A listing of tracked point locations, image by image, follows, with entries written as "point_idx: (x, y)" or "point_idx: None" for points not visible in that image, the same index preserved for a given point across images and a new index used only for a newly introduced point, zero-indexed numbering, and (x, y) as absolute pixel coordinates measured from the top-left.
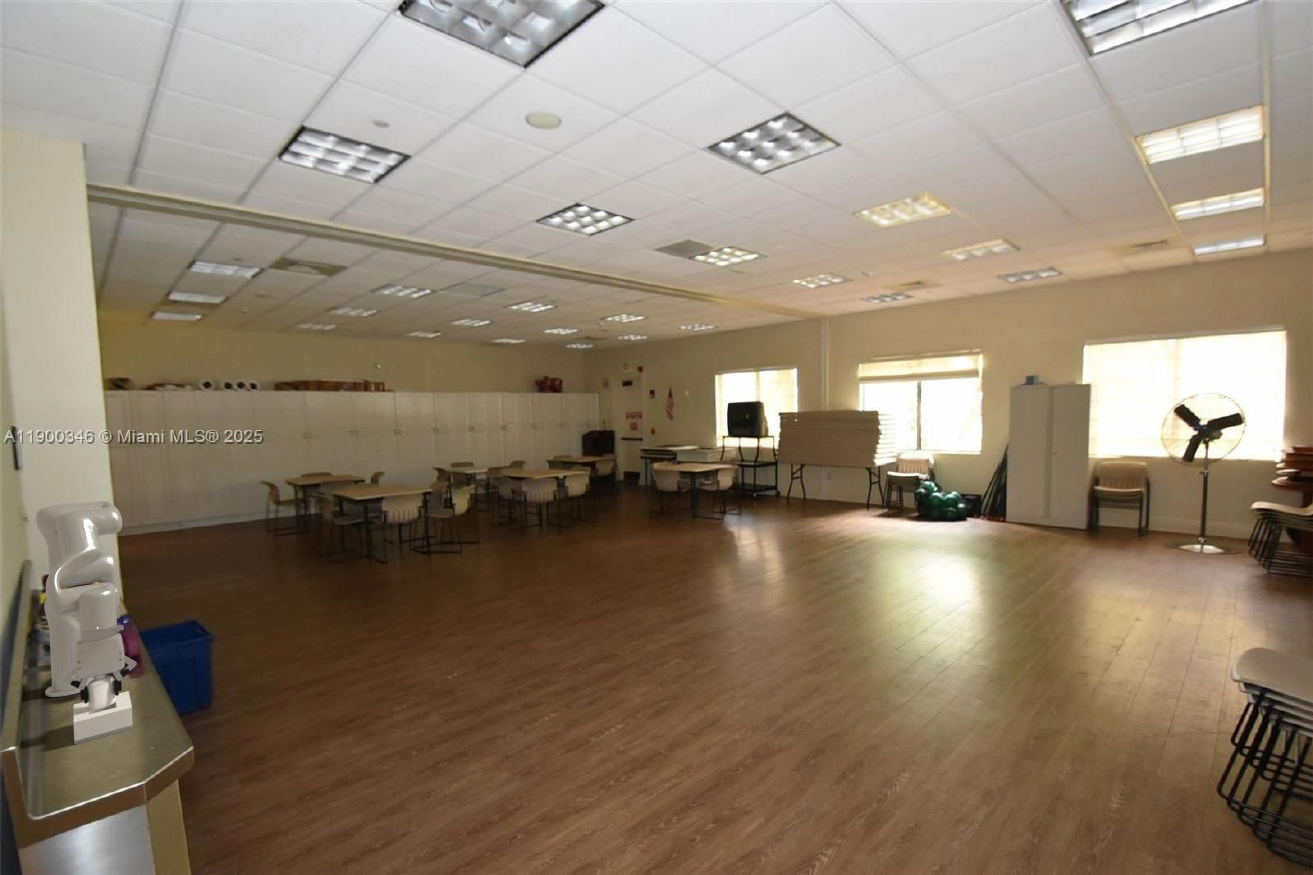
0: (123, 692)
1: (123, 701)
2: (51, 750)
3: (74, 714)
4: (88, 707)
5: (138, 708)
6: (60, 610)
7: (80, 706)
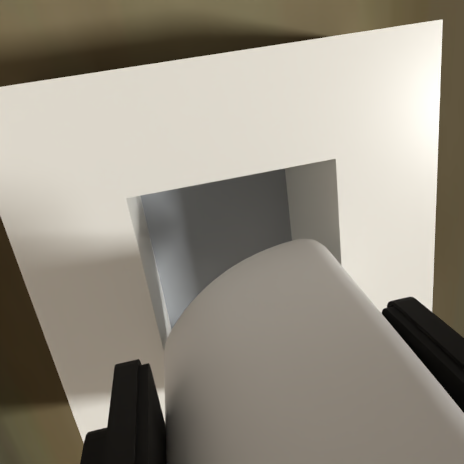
0: (401, 32)
1: (390, 296)
2: (22, 409)
3: (68, 386)
4: (145, 282)
5: (391, 20)
6: None
7: (58, 205)
